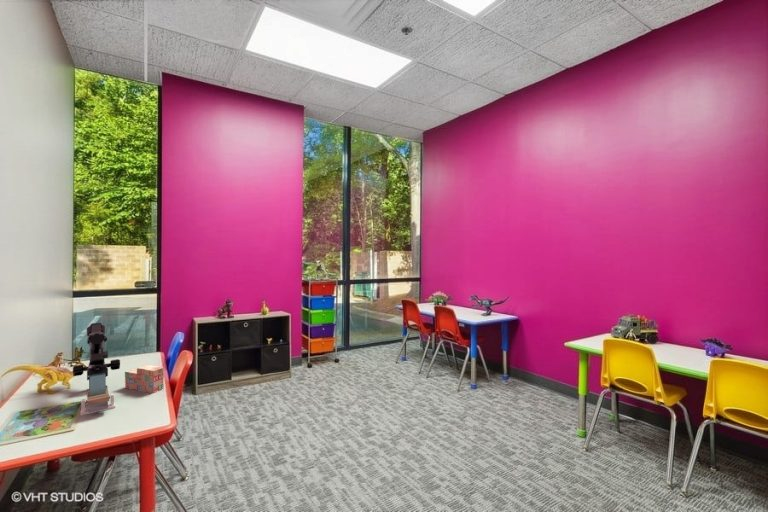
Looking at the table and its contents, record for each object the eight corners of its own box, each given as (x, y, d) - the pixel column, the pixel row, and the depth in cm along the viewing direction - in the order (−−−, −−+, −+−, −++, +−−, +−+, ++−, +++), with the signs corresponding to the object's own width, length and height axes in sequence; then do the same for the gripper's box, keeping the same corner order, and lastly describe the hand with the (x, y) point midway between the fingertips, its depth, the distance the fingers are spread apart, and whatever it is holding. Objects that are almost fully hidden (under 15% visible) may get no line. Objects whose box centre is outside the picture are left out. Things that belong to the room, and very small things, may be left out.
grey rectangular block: (90, 394, 178) (89, 375, 179) (105, 391, 182) (105, 372, 183) (89, 396, 175) (89, 376, 175) (105, 393, 178) (105, 374, 179)
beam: (86, 401, 185) (86, 390, 186) (108, 396, 191) (108, 386, 191) (85, 413, 166) (85, 401, 166) (110, 407, 172) (110, 396, 172)
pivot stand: (80, 411, 174) (80, 399, 173) (114, 404, 182) (114, 392, 182) (80, 415, 170) (80, 402, 170) (115, 407, 178) (115, 395, 178)
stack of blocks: (124, 388, 203) (124, 366, 203) (135, 384, 209) (135, 362, 209) (153, 393, 196) (153, 370, 196) (164, 389, 202) (163, 366, 202)
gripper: (72, 349, 180) (72, 378, 171) (119, 343, 192) (121, 370, 183) (73, 361, 186) (73, 390, 178) (118, 355, 198) (120, 381, 189)
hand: (97, 382), depth 182 cm, fingers closed
